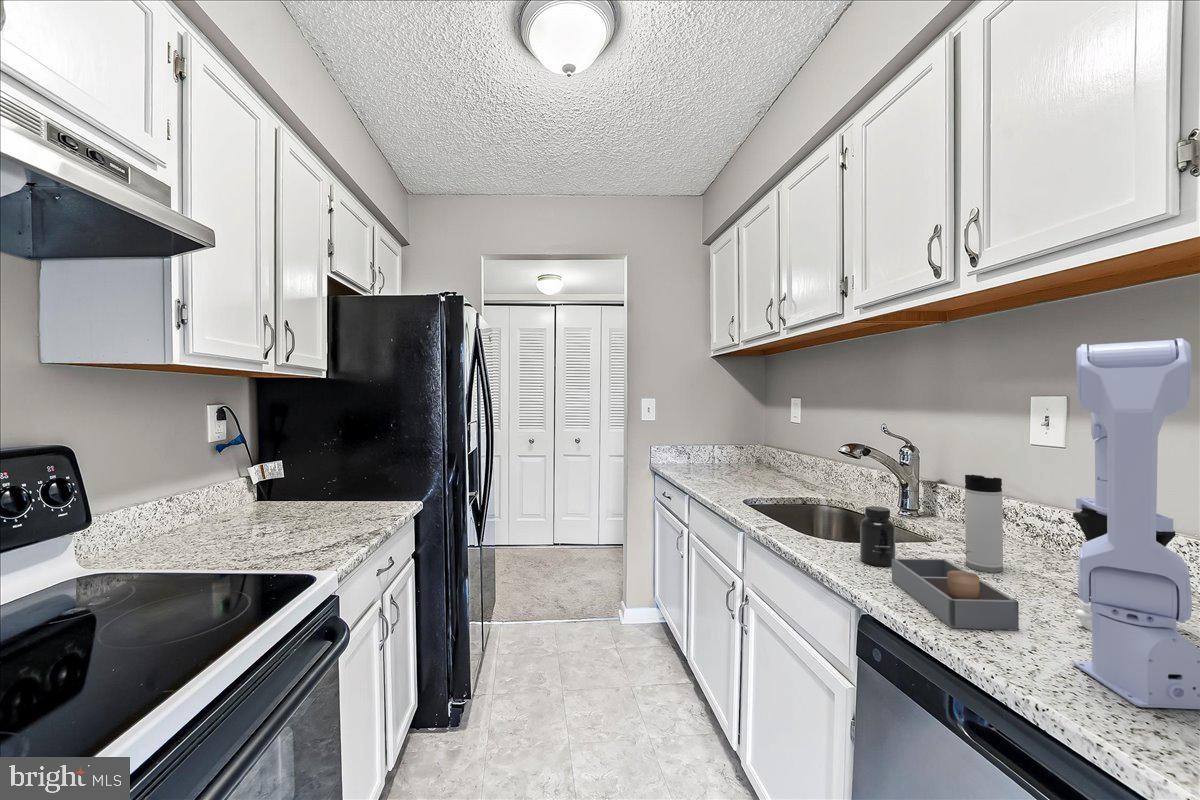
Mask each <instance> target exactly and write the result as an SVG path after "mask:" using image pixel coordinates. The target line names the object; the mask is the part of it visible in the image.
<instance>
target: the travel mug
mask: <svg viewBox="0 0 1200 800" xmlns="http://www.w3.org/2000/svg"><path fill="white" fill-rule="evenodd" d="M1002 479H1003V478H1000V477H985V476H984V475H978V474H964V483H965V484H964V514H965V515H964V517H965V518H964V519H965V520H964V522H965V523H964V525H965V527H964V528H965V565H966V567H968V568H970V569H971V570H975V571H978V572H982V573H988V572H990V573H991V574H997V573H1001V572H1003V570H1004V544H1003V543H1004V539H1003V538H1004V535H1003V534H1004V529H1003V526H1004V525H1003V518H1004V517H1003V513H1004V512H1003V488H1002V486H1003V481H1002Z"/></svg>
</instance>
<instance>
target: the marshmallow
mask: <svg viewBox="0 0 1200 800" xmlns="http://www.w3.org/2000/svg"><path fill="white" fill-rule="evenodd" d="M1079 606H1080V608H1077V609H1074V611H1073V613H1074V615H1075V616H1076V617H1077V618H1079V622H1080V624H1081V625H1082V626H1083V628H1084V629H1086V630H1088V629H1092V611H1091V602H1089V604H1085V603H1083V601H1082V600H1080V602H1079Z"/></svg>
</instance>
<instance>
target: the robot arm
mask: <svg viewBox="0 0 1200 800" xmlns="http://www.w3.org/2000/svg"><path fill="white" fill-rule="evenodd" d="M1075 355H1076V357H1075V359H1076V360H1075V361H1076V363H1075V365H1076V369H1075V370H1076V388H1077V401H1078V402H1079V403H1080V409H1082V410H1085V411H1088V412H1090V433H1091V434H1090V435H1091V438H1092V440H1093V441H1094V440H1095V441H1094V485H1095V486H1094V487H1095V488H1094V492H1095V493H1094V494H1095V496H1094V498H1091V497H1075V508H1076V509H1077V510H1080V512H1079V511H1076V512H1075V511H1074V512H1072V517H1073V519H1075V521H1076V523H1077V524H1078V525H1079V527H1080V529H1081V530H1082V532H1083V535H1084V537H1085V540H1086V541H1085V542H1083V543H1082V546H1080V547H1079V555H1078V559H1077V562H1078V563H1077V566H1078V568H1077V575H1078V576H1077V578H1078V579H1077V583H1078V585H1077V586H1078V591H1077V592H1078V599H1080V601H1083V603H1085V604H1089V603H1091V611H1092V612H1091V613H1092V618H1091V619H1092V630H1091V660H1087V661H1085V660H1074V661H1073V666H1075V667H1077V668H1078V669H1079V670H1082V672H1084V673H1086V674H1087V675H1089V676H1091V677H1092V678H1093V679H1095V680H1096V681H1098V682H1099V683H1101V684H1102V685H1104V686H1106V687H1107V688H1108V689H1110V690H1111V691H1113V692H1115V693H1116V694H1117V695H1119V696H1121V697H1122V698H1124V699H1125V700H1126V701H1128V702H1130V703H1131V704H1132V705H1135V706H1137V707H1139V708H1159V709H1160V708H1161V709H1162V708H1163V709H1185V710H1188V709H1189V710H1200V650H1199V648H1198V647H1197V645H1196V644H1194V643H1193V642H1192V641H1190V640H1189V639H1187V638H1186V637H1184V636H1183V635H1182V634H1181V633H1180V632H1179V631H1178V630H1177V623H1181V624H1183V623H1186V622H1187V621H1190V620H1191V618H1192V611H1193V610H1192V609H1193V600H1192V599H1193V598H1192V596H1193V594H1192V588H1191V587H1192V586H1191V579H1190V571H1189V567H1188V565H1187V563H1186V562H1185V560H1184V558H1183V557H1182V556H1181V555H1179V554H1178V553H1176V552H1174V551H1172V550H1171V549H1169V548H1168V547H1166V546H1167V545H1168V544H1169V543H1171V541H1172V540H1173V539H1174V538H1175V537H1176V531H1174V518H1172V517H1169V516H1168V517H1167V516H1164V515H1162V514H1159V513H1157V503H1158V502H1157V499H1158V498H1157V496H1158V494H1157V493H1158V455H1159V454H1158V453H1159V452H1158V450H1159V447H1158V446H1159V445H1158V443H1159V434H1160V431H1161V429H1162V427H1163V424H1164V422H1165V420H1166V417H1167V416H1169V415H1173V414H1176V413H1178V412H1181V411H1184V410H1187V408H1188V402H1189V401H1190V400H1191V382H1192V371H1193V370H1192V369H1193V368H1192V366H1193V364H1192V362H1193V360H1192V359H1193V358H1192V357H1193V356H1192V348H1191V344H1190V342H1188V341H1186V340H1185V339H1184V338H1182V337H1180V338H1178V337H1177V338H1174V339H1167V340H1165V339H1164V340H1152V341H1150V340H1149V341H1134V342H1133V341H1132V342H1117V343H1115V342H1113V343H1100V344H1099V343H1097V344H1089V345H1088V344H1087V343H1082V344H1080V346H1078V347H1077V348H1076V352H1075Z"/></svg>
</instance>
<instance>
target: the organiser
mask: <svg viewBox="0 0 1200 800" xmlns="http://www.w3.org/2000/svg"><path fill="white" fill-rule="evenodd" d="M949 571H965V572H967V570H964V569H962V568H961V567H960V566H958V565H956V564H954V563H952V562H951V561H949V560H947V559H945V558H895V559H892V566H891V581H892V582H893V583H894V584H895V583H896V584H895V585H897V586H898V587H899V588H900V587H901V588H900V589H902V590H903V592H905V591H906V592H905V593H907V594H908V595H909V594H910V595H911V596H912V598H913V599H914V600H915V599H916V600H917V603H919V604H920V603H921V604H922V605H921V606H923V607H924V608H925V607H926V608H927V609H926V608H925V609H926V610H928V611H929V612H930V611H931V612H932V613H931V612H930V613H931V614H932V615H934V616H935V617H937V619H939V620H942V621H941V622H943V623H944V624H945V625H946V626H947V627H948V628H950V629H953V628H966V629H965V630H994V629H1012V630H1011V631H1019V630H1020V623H1019V621H1020V620H1019V619H1020V617H1019V615H1020V612H1019V611H1020V610H1019V609H1020V608H1019V606H1020V605H1019V604H1020V603H1019V601H1018V600H1016V599H1015V598H1013V597H1011V596H1009V595H1007V594H1005V593H1004V592H1002V591H1001V590H999V589H998V588H996V587H994V586H992V585H990V584H988V583H987V582H986V581H983V580H982V579H980V578H979V586H980V600H971V599H952V598H950V597H949V596H948V584H947V572H949ZM910 595H909V596H910ZM911 596H910V597H911ZM916 600H915V601H916ZM967 628H969V629H967ZM971 628H972V629H971Z"/></svg>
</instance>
